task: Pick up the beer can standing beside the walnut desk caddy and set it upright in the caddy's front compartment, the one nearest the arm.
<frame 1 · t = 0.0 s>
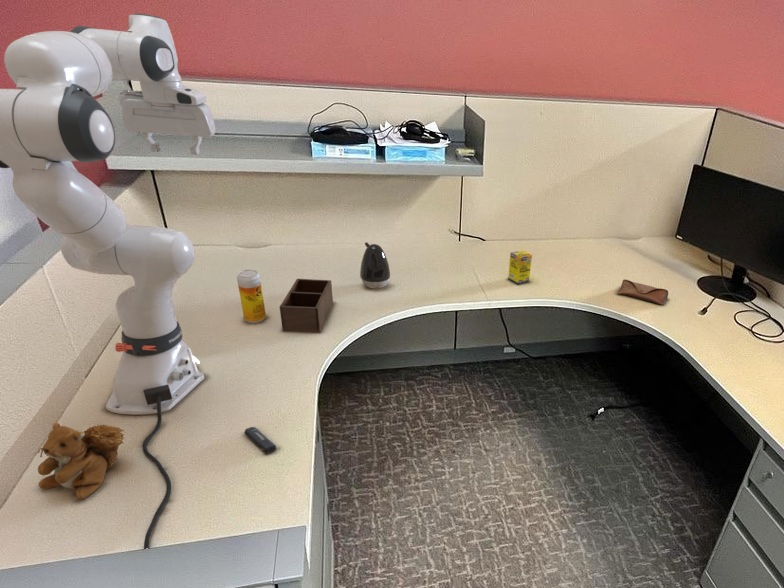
hand: (175, 152, 142), 48 cm above the table, tool pointing down, fingers open, 8 cm apart
sunglasses case: (641, 297, 211), on the table
supplement box: (518, 281, 214), on the table
caddy: (309, 316, 175), on the table
usb stick: (260, 442, 123), on the table
black egg-shaped figure: (375, 286, 198), on the table
stuffed squirrel: (90, 476, 111), on the table
beer can: (255, 319, 170), on the table
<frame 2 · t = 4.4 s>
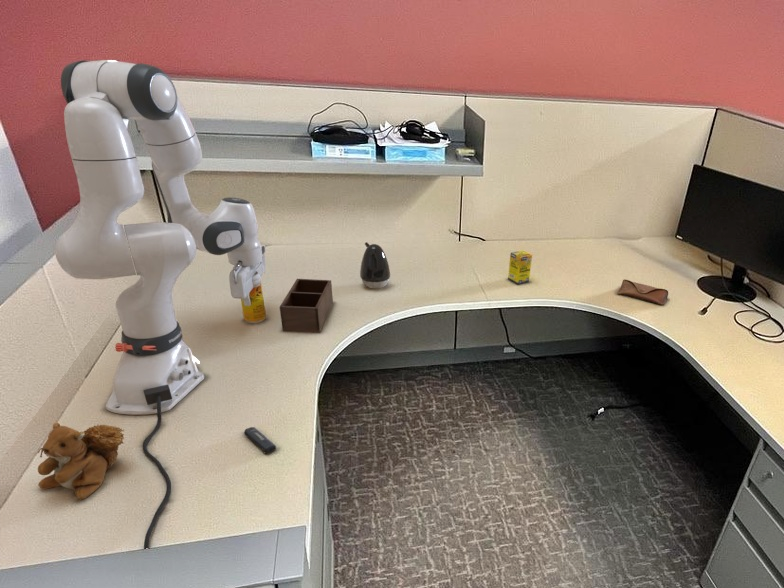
hand: (251, 299, 166), 7 cm above the table, tool pointing down, fingers closed on beer can, 6 cm apart
beer can: (255, 319, 170), on the table, touching gripper
everything else where it was.
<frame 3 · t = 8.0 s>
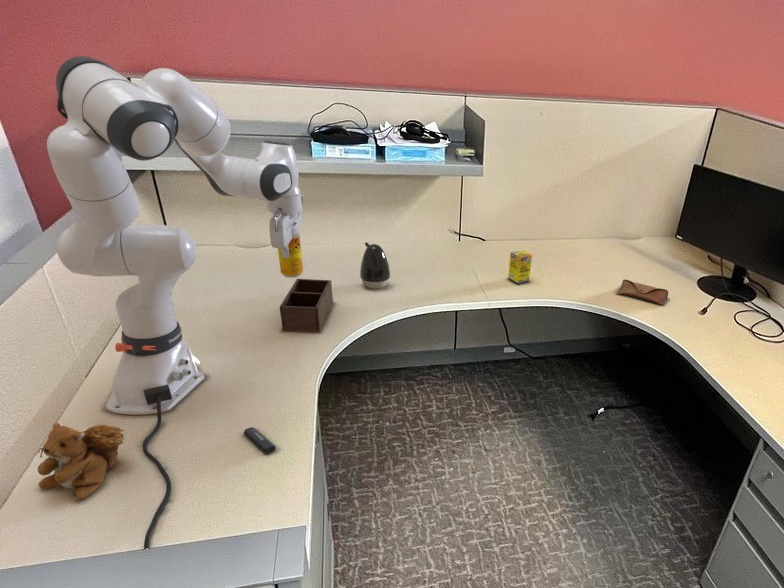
hand: (289, 252, 159), 23 cm above the table, tool pointing down, fingers closed on beer can, 6 cm apart
beer can: (292, 274, 162), point 16 cm above the table, touching gripper
everything else where it was.
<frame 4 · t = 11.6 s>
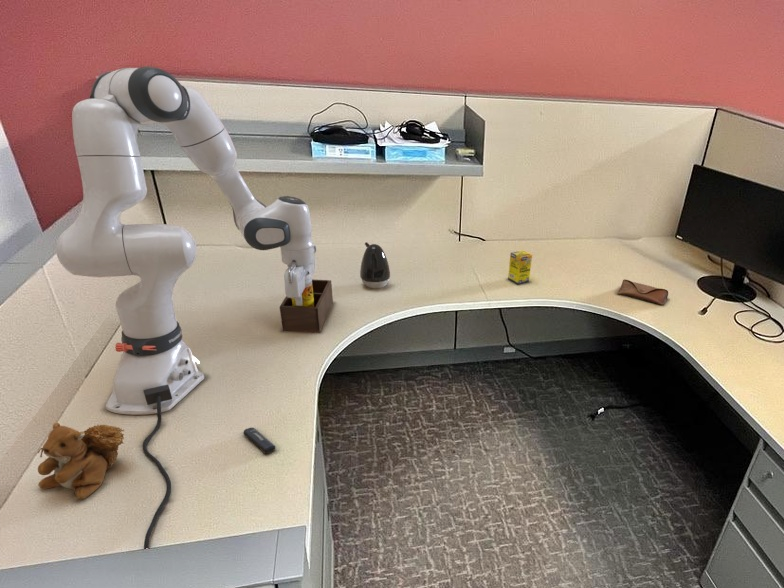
hand: (302, 299, 166), 8 cm above the table, tool pointing down, fingers closed on beer can, 6 cm apart
beer can: (304, 319, 170), point 1 cm above the table, touching gripper
everything else where it was.
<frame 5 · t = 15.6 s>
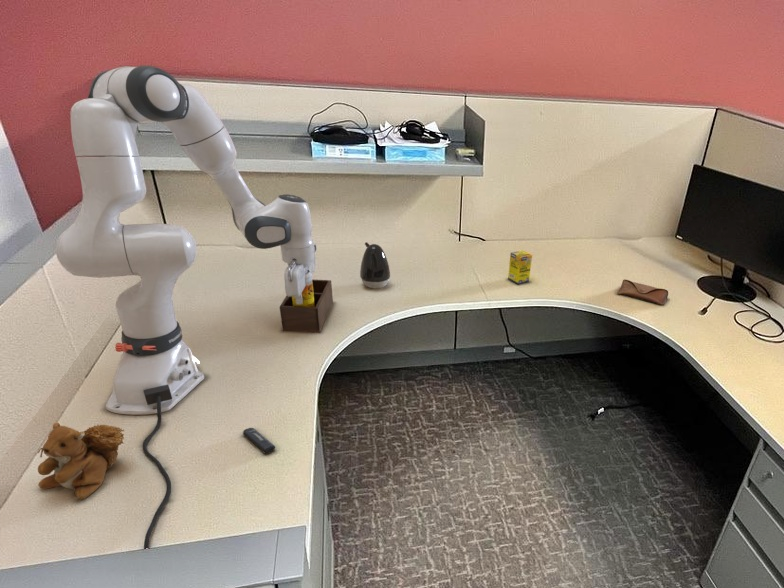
hand: (303, 297, 166), 9 cm above the table, tool pointing down, fingers closed on beer can, 6 cm apart
beer can: (305, 318, 169), point 2 cm above the table, touching gripper
everything else where it was.
when the fingers open (9 cm above the table, at t = 19.4 s): beer can stays where it is, resting on caddy.
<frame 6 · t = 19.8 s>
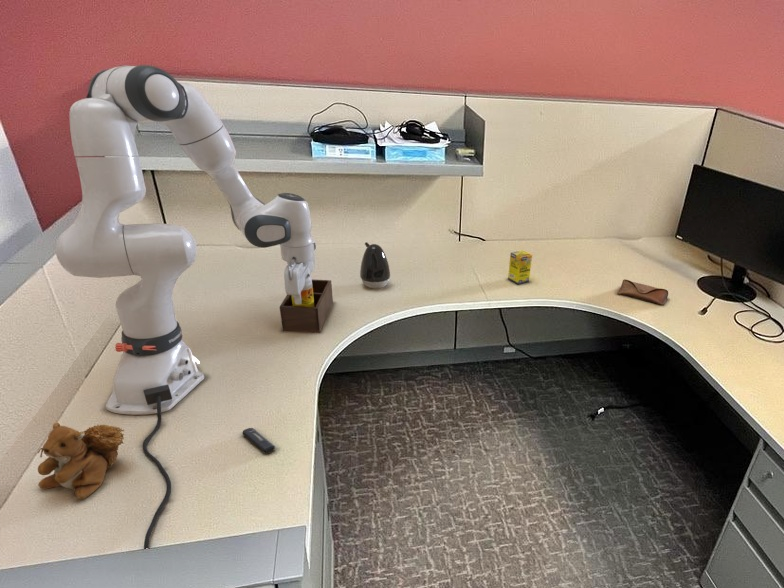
hand: (302, 296, 166), 9 cm above the table, tool pointing down, fingers open, 8 cm apart
beer can: (305, 322, 170), point 1 cm above the table, touching caddy
everything else where it was.
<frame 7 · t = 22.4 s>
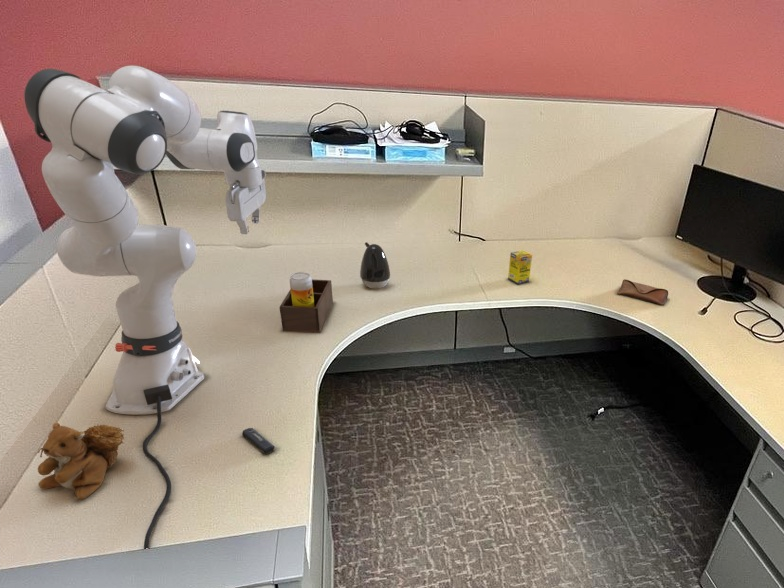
hand: (250, 227, 155), 29 cm above the table, tool pointing down, fingers open, 8 cm apart
nothing on the table moved.
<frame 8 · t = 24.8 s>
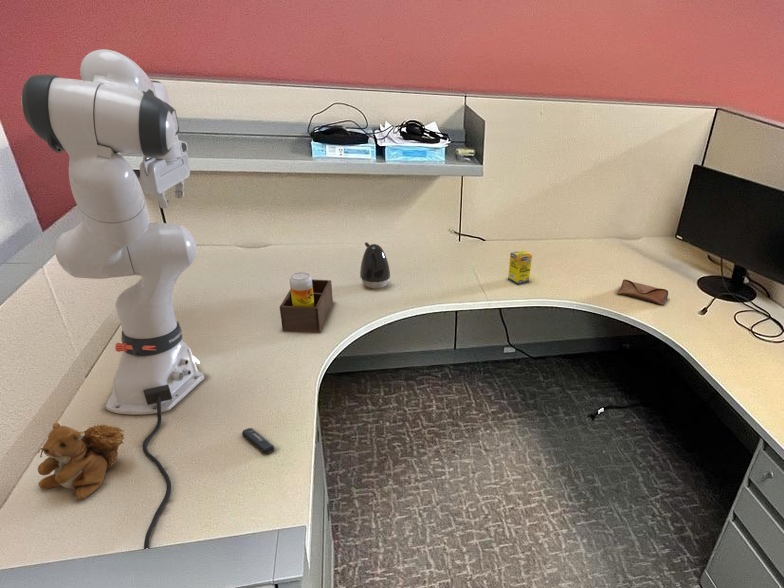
hand: (172, 202, 151), 34 cm above the table, tool pointing down, fingers open, 8 cm apart
nothing on the table moved.
at the end: beer can inside the target area on the caddy (0.3 cm from its centre), point 0.6 cm above the caddy's base; beer can tilted 0°; the gripper is holding nothing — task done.
